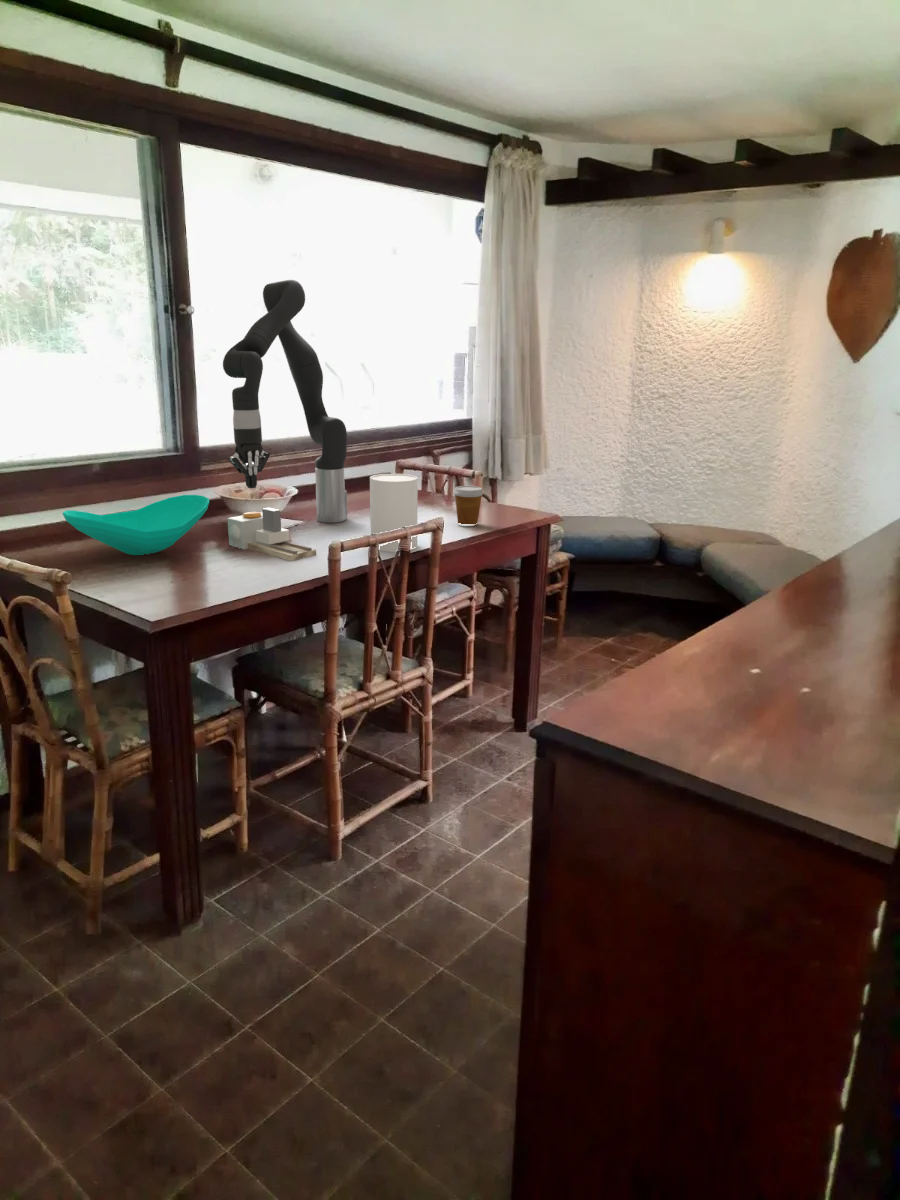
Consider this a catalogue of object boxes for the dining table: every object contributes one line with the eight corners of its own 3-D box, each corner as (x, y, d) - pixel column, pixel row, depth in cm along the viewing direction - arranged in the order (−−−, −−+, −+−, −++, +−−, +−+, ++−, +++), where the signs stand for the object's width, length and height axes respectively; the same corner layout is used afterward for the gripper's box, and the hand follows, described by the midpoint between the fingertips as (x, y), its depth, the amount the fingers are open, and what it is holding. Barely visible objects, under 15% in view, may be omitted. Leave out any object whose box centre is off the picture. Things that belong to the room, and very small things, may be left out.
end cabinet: (263, 538, 248) (261, 511, 246) (278, 542, 244) (276, 515, 241) (228, 545, 239) (226, 518, 237) (242, 549, 235) (240, 522, 232)
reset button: (254, 523, 243) (254, 511, 242) (265, 525, 240) (264, 513, 239) (240, 525, 240) (239, 513, 239) (250, 528, 237) (250, 516, 236)
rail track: (273, 543, 243) (273, 535, 242) (316, 554, 231) (316, 546, 230) (248, 548, 236) (247, 540, 236) (290, 560, 224) (290, 552, 224)
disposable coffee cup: (448, 526, 268) (449, 489, 265) (459, 520, 277) (460, 484, 273) (476, 529, 265) (477, 491, 261) (486, 523, 273) (487, 487, 270)
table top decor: (184, 532, 253) (180, 489, 249) (233, 549, 235) (230, 503, 231) (50, 554, 226) (43, 506, 222) (94, 575, 208) (88, 523, 204)
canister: (373, 539, 249) (372, 473, 243) (418, 541, 248) (419, 474, 242) (367, 551, 236) (367, 480, 230) (415, 552, 236) (415, 482, 229)
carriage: (276, 536, 240) (274, 506, 237) (289, 540, 236) (288, 509, 233) (256, 540, 235) (254, 509, 232) (269, 544, 231) (267, 512, 228)
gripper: (258, 423, 238) (262, 483, 244) (219, 427, 229) (224, 489, 234) (274, 425, 234) (278, 486, 239) (235, 429, 224) (240, 492, 229)
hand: (251, 487), depth 237 cm, fingers closed
